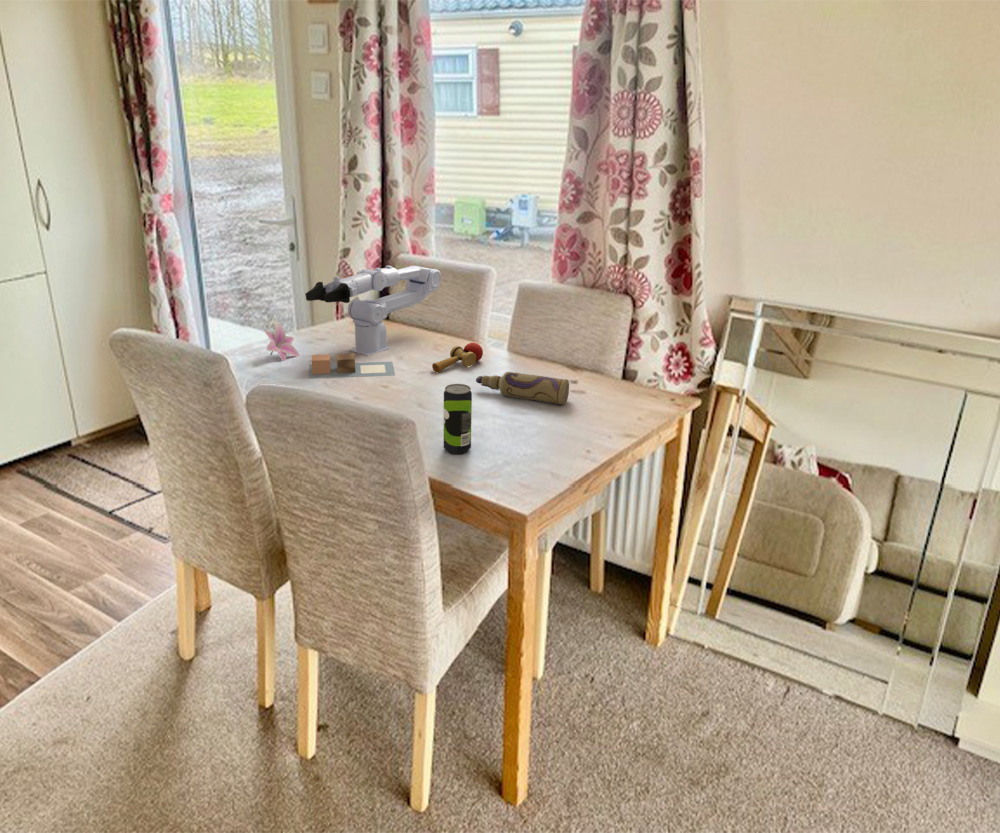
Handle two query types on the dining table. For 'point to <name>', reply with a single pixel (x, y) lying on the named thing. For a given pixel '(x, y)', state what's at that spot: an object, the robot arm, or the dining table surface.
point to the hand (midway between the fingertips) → (315, 297)
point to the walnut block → (346, 363)
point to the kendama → (461, 356)
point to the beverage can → (457, 418)
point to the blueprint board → (358, 370)
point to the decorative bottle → (528, 387)
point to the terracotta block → (320, 364)
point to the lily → (281, 343)
